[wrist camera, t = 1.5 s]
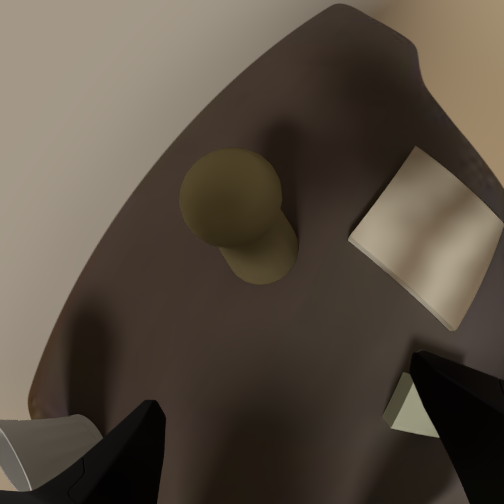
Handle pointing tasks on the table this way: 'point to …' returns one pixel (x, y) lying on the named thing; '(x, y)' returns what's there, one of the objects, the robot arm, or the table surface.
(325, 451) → the table surface
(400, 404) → the soap bar
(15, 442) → the cup
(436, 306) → the board
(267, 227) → the cork
